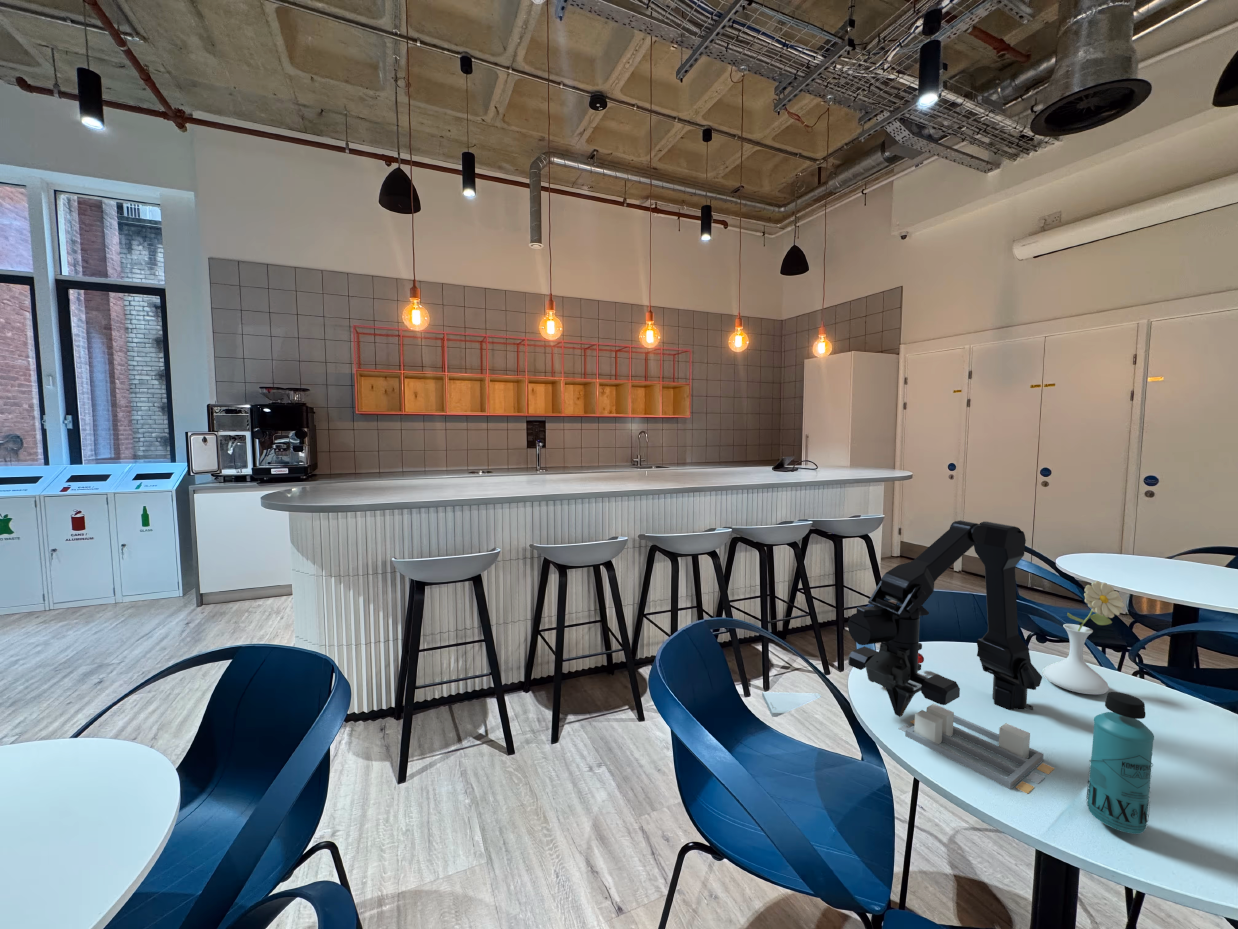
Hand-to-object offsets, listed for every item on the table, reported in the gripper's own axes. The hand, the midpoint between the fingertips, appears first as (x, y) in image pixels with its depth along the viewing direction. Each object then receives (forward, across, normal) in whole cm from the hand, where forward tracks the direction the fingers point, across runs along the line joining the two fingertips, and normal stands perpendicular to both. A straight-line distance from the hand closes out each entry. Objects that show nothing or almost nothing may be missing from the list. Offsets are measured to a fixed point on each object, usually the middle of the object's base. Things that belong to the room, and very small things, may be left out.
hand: (898, 715), depth 98 cm
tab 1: (+2, +6, 0) cm, 6 cm away
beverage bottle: (+3, +30, +3) cm, 31 cm away
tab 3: (+2, +16, +8) cm, 18 cm away
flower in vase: (+3, +13, +51) cm, 53 cm away
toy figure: (+3, -10, +18) cm, 21 cm away
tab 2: (+2, +6, +4) cm, 7 cm away
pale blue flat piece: (+4, -16, -10) cm, 19 cm away
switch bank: (+3, +11, +4) cm, 12 cm away
